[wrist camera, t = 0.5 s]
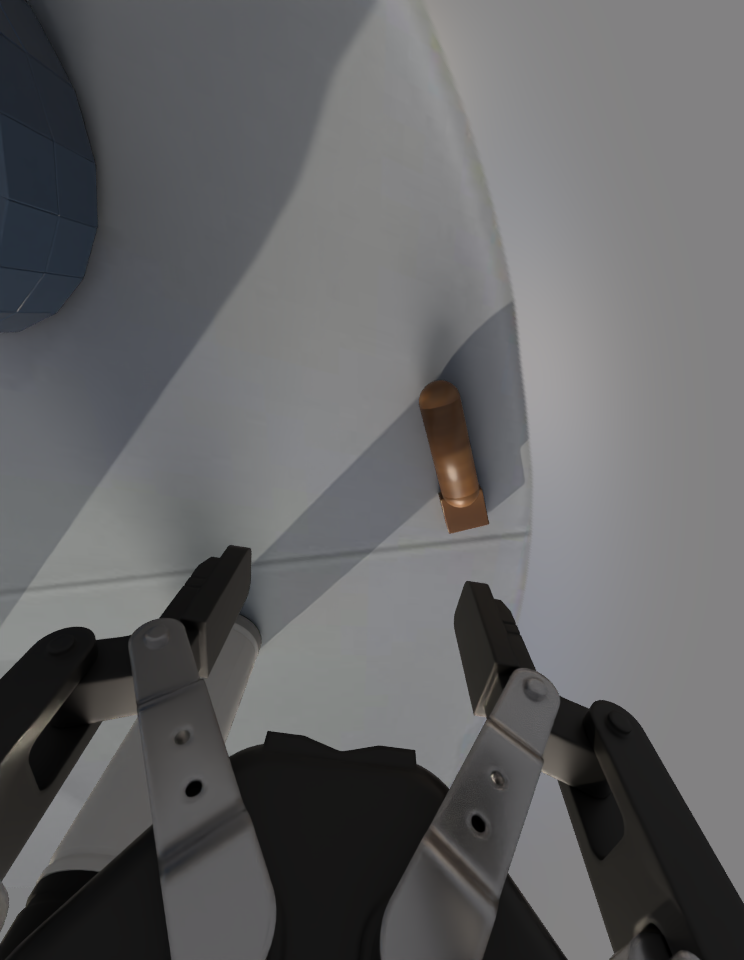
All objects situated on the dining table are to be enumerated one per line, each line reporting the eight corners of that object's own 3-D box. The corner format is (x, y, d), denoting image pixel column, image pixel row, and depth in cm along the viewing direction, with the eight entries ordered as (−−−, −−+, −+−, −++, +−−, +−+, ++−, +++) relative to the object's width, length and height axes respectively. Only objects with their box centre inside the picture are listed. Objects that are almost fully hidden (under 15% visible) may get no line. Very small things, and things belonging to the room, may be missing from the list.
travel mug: (177, 629, 33) (-71, 1004, 15) (229, 598, 32) (24, 977, 14) (224, 670, 35) (56, 1044, 17) (276, 643, 34) (151, 1025, 16)
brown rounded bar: (410, 385, 24) (413, 392, 22) (454, 371, 24) (463, 377, 21) (446, 525, 28) (452, 544, 26) (485, 516, 28) (494, 534, 26)
